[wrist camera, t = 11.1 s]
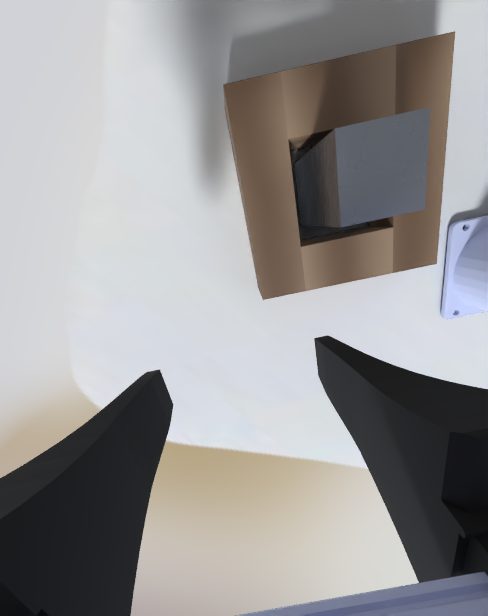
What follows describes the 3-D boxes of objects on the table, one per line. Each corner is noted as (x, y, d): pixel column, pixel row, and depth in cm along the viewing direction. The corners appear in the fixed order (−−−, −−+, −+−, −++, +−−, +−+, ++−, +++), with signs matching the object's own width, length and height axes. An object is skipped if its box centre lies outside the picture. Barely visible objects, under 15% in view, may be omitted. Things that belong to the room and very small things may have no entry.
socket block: (413, 66, 15) (455, 31, 12) (406, 257, 19) (436, 263, 16) (224, 109, 15) (223, 84, 13) (258, 288, 20) (263, 299, 17)
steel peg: (351, 151, 17) (430, 107, 10) (354, 213, 18) (424, 209, 11) (294, 164, 17) (334, 128, 10) (301, 224, 18) (340, 227, 11)
